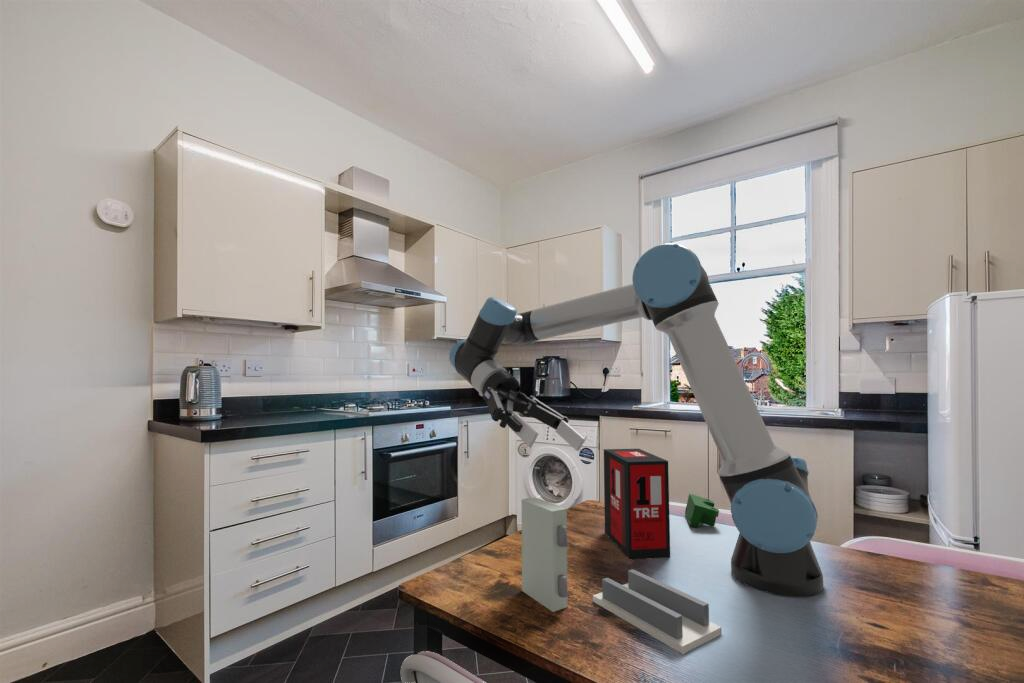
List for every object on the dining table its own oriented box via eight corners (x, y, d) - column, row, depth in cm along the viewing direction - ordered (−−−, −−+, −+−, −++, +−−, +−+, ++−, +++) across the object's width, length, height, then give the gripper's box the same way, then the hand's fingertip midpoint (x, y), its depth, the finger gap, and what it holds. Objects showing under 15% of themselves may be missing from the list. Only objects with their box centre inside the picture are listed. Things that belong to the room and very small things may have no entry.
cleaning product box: (670, 557, 99) (668, 461, 101) (629, 559, 98) (627, 462, 100) (640, 531, 116) (638, 448, 117) (604, 532, 115) (603, 449, 116)
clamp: (710, 545, 118) (720, 517, 115) (685, 537, 120) (695, 509, 116) (707, 514, 129) (717, 487, 126) (684, 507, 131) (693, 480, 127)
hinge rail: (592, 601, 80) (592, 577, 81) (630, 588, 85) (629, 565, 86) (682, 654, 65) (682, 624, 66) (721, 634, 70) (720, 606, 71)
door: (521, 590, 84) (521, 499, 85) (535, 586, 86) (535, 496, 87) (558, 615, 76) (557, 513, 77) (572, 610, 77) (571, 510, 78)
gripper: (527, 406, 110) (589, 462, 95) (442, 392, 93) (500, 457, 78) (542, 378, 109) (607, 430, 94) (458, 358, 92) (520, 418, 77)
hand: (558, 442), depth 86 cm, fingers open, 13 cm apart
